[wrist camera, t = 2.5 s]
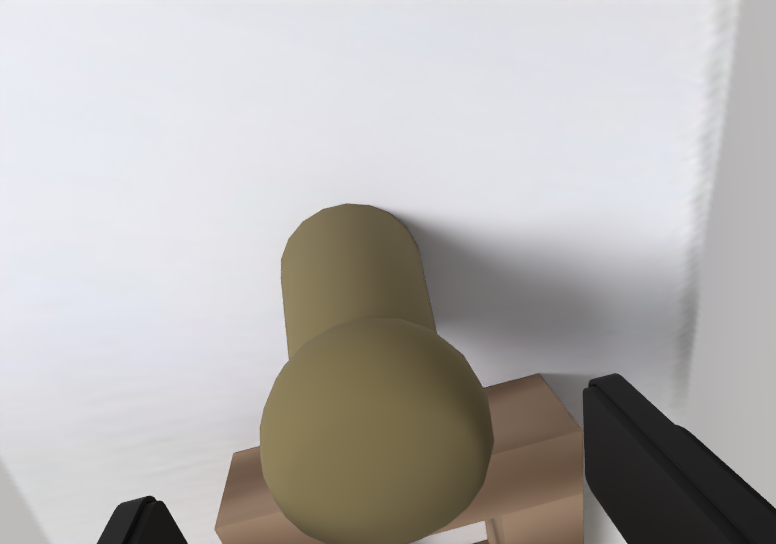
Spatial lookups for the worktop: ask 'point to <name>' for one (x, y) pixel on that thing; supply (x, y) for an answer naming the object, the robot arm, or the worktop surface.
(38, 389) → the worktop surface
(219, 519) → the socket block
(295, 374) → the cork
